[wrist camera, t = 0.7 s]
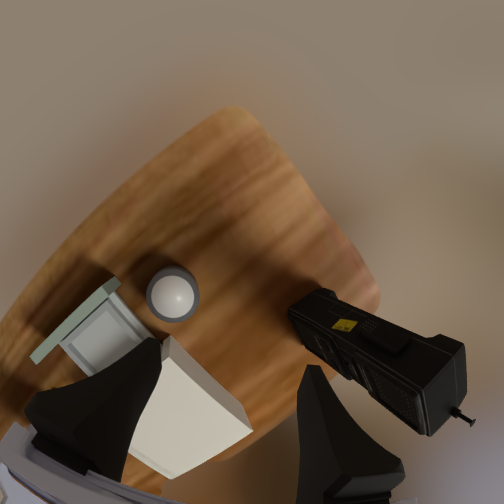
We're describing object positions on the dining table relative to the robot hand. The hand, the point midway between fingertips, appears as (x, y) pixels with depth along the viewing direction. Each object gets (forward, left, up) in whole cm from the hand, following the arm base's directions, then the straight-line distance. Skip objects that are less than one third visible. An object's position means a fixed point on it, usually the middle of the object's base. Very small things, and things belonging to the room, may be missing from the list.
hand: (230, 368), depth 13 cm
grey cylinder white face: (-3, +2, -20) cm, 21 cm away
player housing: (-14, -9, -20) cm, 26 cm away
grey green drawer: (-14, +1, -20) cm, 24 cm away
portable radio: (+8, -12, -20) cm, 25 cm away
